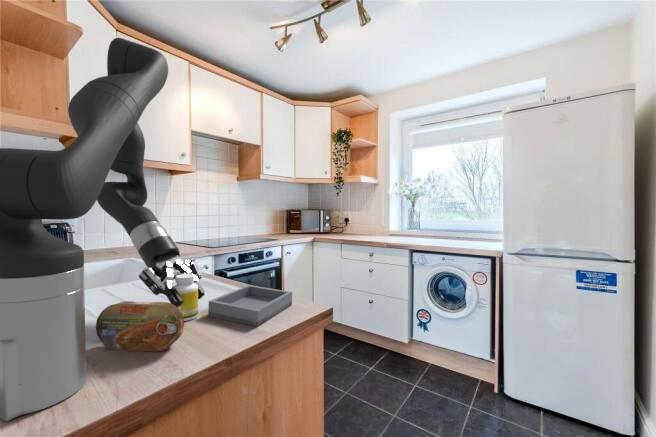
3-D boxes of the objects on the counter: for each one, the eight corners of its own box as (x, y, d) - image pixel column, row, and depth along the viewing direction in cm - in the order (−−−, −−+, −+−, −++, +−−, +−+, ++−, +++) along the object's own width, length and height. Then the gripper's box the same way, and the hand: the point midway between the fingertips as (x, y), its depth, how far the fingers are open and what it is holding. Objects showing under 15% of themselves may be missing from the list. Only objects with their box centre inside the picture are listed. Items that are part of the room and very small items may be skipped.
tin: (94, 349, 51) (93, 303, 50) (108, 341, 54) (108, 297, 54) (177, 353, 51) (177, 306, 50) (186, 344, 54) (186, 300, 53)
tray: (257, 327, 62) (258, 311, 62) (208, 315, 67) (208, 301, 67) (291, 304, 76) (292, 292, 76) (248, 297, 81) (248, 284, 81)
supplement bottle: (202, 313, 68) (202, 273, 68) (189, 323, 63) (189, 279, 62) (181, 312, 69) (181, 272, 68) (166, 321, 63) (166, 278, 63)
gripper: (131, 237, 61) (171, 300, 57) (187, 231, 74) (223, 283, 70) (116, 259, 63) (153, 321, 59) (172, 250, 77) (206, 300, 73)
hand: (191, 300), depth 65 cm, fingers closed on supplement bottle, 5 cm apart
